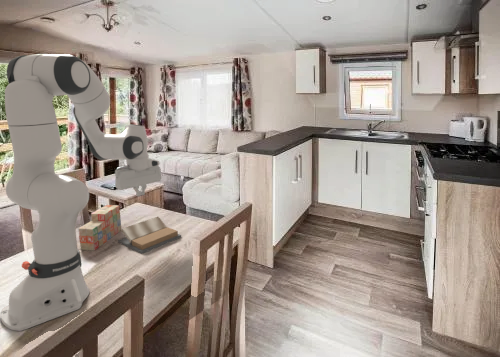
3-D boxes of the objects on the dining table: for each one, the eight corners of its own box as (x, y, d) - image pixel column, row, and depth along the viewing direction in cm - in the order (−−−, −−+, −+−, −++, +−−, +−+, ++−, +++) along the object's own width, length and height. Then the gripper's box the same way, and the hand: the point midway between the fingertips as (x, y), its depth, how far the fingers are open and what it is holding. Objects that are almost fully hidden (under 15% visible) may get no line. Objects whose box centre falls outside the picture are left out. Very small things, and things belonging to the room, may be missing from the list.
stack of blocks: (95, 250, 131) (91, 222, 128) (80, 250, 132) (76, 221, 129) (122, 230, 152) (119, 204, 149) (109, 229, 152) (106, 204, 149)
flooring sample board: (141, 253, 128) (141, 246, 128) (118, 242, 138) (117, 235, 138) (181, 237, 144) (180, 230, 143) (157, 228, 154) (156, 222, 153)
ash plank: (130, 242, 134) (131, 240, 133) (121, 231, 137) (122, 228, 136) (165, 229, 148) (167, 226, 147) (157, 219, 151) (158, 216, 150)
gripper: (119, 168, 126) (122, 202, 129) (162, 160, 142) (164, 191, 145) (110, 166, 130) (113, 199, 133) (153, 159, 145) (155, 189, 149)
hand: (140, 195), depth 139 cm, fingers closed
